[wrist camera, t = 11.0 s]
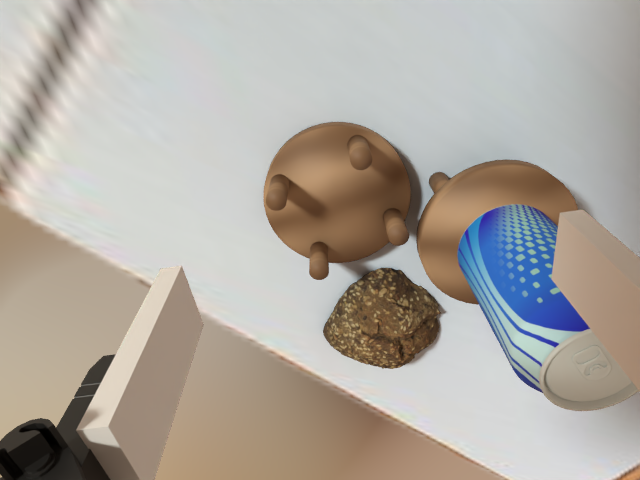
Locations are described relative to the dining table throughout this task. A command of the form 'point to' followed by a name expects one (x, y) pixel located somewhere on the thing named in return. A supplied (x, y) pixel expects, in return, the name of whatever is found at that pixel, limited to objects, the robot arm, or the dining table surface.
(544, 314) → the beer can
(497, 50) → the dining table surface
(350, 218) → the upturned footstool
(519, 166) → the footstool
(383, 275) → the bread roll
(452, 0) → the dining table surface
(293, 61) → the dining table surface
